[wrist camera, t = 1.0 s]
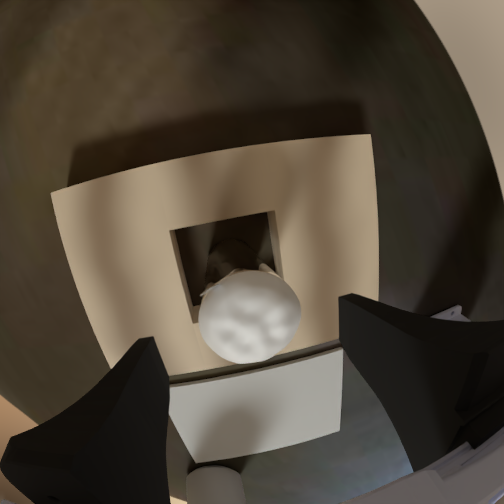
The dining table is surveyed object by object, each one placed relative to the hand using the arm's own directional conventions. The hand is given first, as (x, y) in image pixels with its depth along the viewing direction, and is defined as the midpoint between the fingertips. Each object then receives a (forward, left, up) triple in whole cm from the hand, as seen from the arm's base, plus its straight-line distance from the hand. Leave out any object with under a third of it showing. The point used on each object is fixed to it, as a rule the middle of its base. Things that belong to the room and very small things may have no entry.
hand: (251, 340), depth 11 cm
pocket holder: (0, 0, -10) cm, 10 cm away
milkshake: (0, 0, -10) cm, 10 cm away
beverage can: (+7, +26, -10) cm, 29 cm away
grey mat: (0, +16, -10) cm, 19 cm away
